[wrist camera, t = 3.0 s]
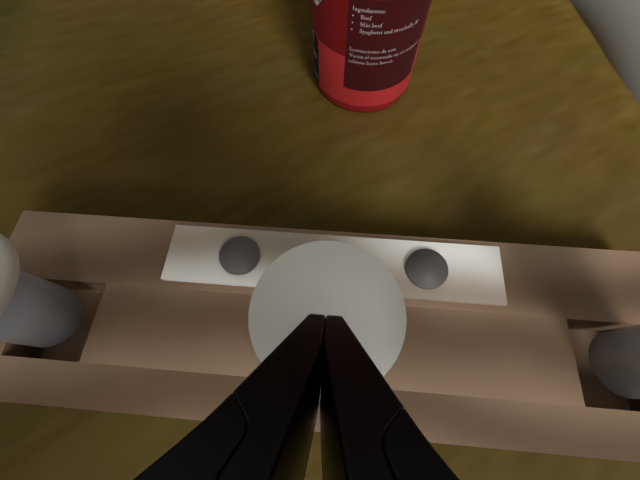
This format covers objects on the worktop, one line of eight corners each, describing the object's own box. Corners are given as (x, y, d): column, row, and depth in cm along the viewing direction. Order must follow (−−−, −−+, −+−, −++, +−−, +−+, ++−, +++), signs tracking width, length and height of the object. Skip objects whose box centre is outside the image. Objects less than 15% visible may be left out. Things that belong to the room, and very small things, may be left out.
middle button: (376, 400, 15) (408, 407, 10) (268, 390, 16) (234, 391, 10) (378, 293, 17) (405, 245, 12) (282, 286, 18) (261, 235, 12)
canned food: (348, 36, 30) (359, -139, 20) (425, 73, 28) (481, -101, 18) (295, 86, 28) (277, -85, 18) (375, 130, 26) (407, -34, 16)
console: (685, 459, 17) (769, 476, 14) (-11, 394, 19) (-81, 395, 15) (628, 271, 21) (683, 250, 18) (59, 231, 23) (16, 206, 19)
